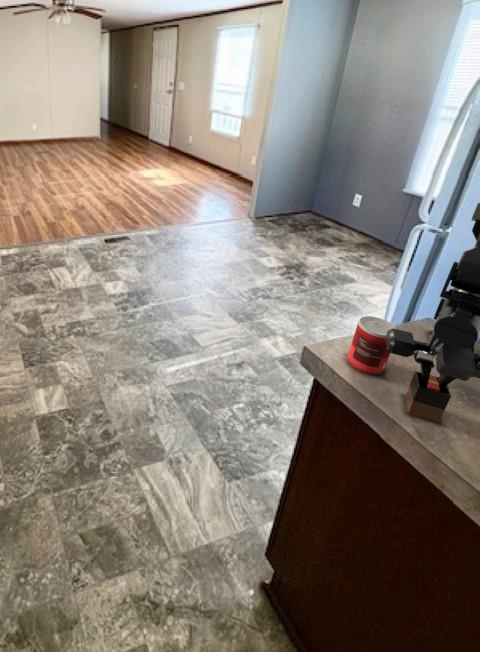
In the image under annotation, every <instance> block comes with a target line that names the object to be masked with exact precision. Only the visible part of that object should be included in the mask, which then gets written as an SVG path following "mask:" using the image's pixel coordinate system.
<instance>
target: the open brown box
mask: <svg viewBox="0 0 480 652" xmlns="http://www.w3.org/2000/svg"><path fill="white" fill-rule="evenodd" d="M430 376H432V377H436V378H437V381H438V378H439V376H435V375H431V374H430ZM409 385H410V388H411V393H412V397H413V401H417V402H420V403H423V404H427V405H430V406H433V407H437V408H440V409H443V410H444V411H446V408H447V406H448V404H449V402H450V399H451V397H452V394H451V391H450V388H449V384H448V385H447V386H445V387H444V388H443V389H441V390H440V391H435V390H432V389H428V388H425V387H423V385H422V375H421V371H420V372H419V371H416V370H415V371H414V373H413V375H412V377H411V381H410V383H409Z"/></svg>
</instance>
